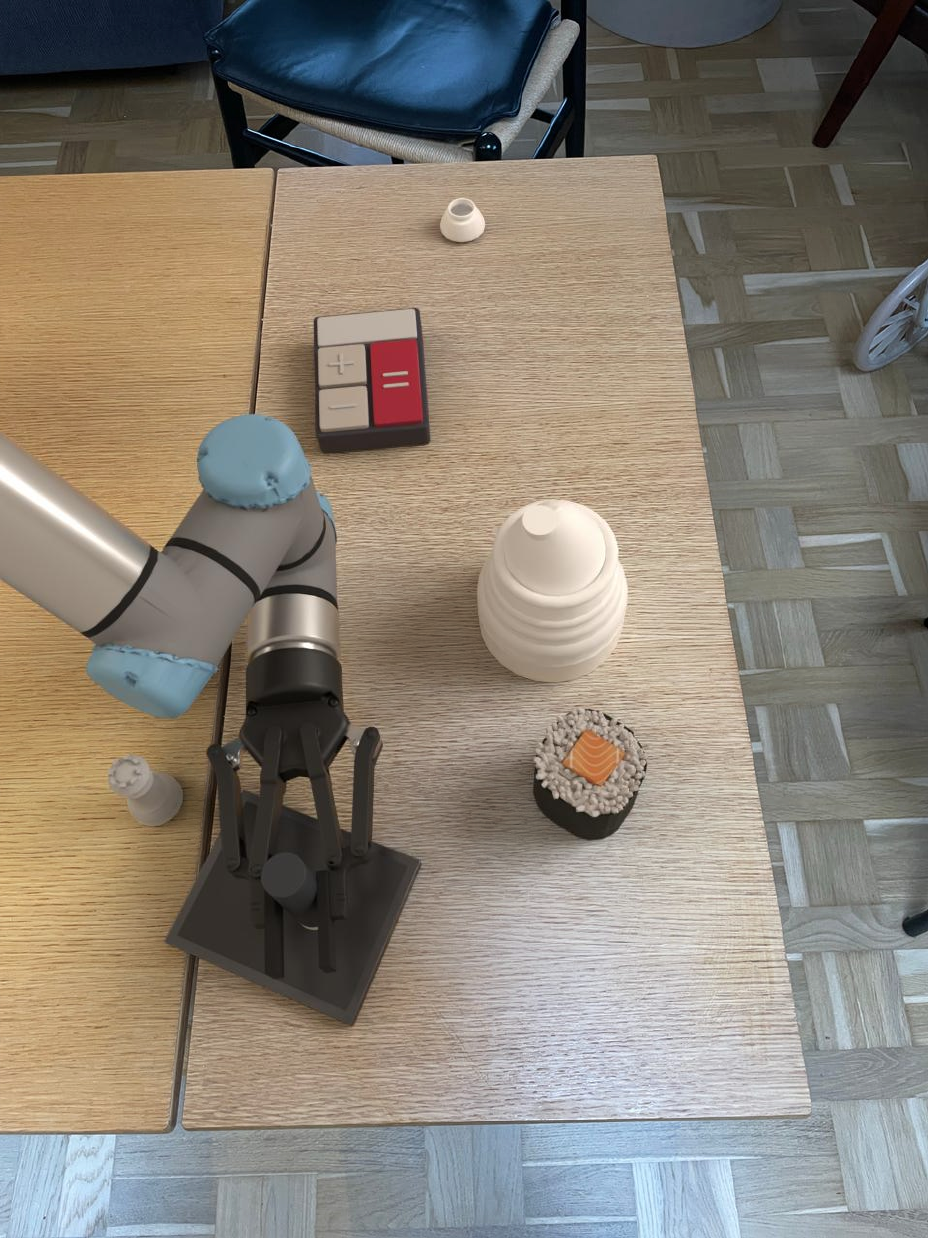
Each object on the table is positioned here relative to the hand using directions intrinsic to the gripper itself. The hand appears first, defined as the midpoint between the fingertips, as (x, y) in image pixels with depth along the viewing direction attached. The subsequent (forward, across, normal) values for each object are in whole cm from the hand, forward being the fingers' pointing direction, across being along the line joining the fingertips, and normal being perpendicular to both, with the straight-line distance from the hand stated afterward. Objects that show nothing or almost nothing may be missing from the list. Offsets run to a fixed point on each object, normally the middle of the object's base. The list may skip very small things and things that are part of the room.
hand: (301, 972), depth 67 cm
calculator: (-57, -7, -8) cm, 58 cm away
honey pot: (-29, -22, -8) cm, 37 cm away
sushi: (-13, -22, -8) cm, 27 cm away
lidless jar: (-79, -19, -8) cm, 82 cm away
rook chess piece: (-16, +13, -8) cm, 22 cm away
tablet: (-6, +2, -8) cm, 10 cm away
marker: (-5, 0, -7) cm, 9 cm away
